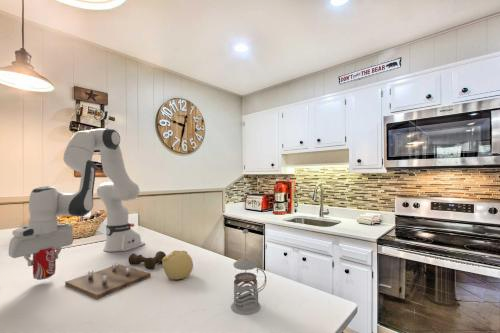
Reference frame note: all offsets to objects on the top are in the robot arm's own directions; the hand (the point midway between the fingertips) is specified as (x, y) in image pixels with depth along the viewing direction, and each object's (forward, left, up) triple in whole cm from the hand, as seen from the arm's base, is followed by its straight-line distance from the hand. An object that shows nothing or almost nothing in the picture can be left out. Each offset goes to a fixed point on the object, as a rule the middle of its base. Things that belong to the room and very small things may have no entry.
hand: (43, 262), depth 100 cm
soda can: (0, 0, -6) cm, 6 cm away
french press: (-25, +80, -9) cm, 84 cm away
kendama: (-34, +20, -9) cm, 41 cm away
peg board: (-14, +21, -8) cm, 27 cm away
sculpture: (-31, +42, -9) cm, 53 cm away
